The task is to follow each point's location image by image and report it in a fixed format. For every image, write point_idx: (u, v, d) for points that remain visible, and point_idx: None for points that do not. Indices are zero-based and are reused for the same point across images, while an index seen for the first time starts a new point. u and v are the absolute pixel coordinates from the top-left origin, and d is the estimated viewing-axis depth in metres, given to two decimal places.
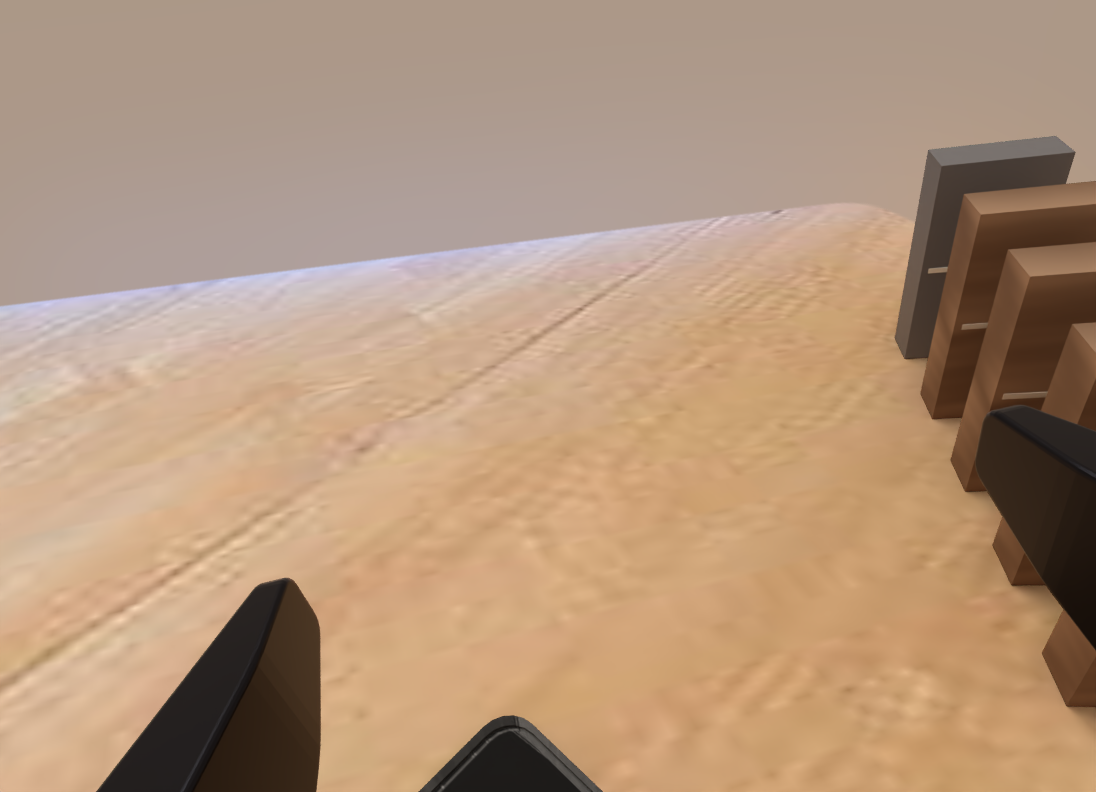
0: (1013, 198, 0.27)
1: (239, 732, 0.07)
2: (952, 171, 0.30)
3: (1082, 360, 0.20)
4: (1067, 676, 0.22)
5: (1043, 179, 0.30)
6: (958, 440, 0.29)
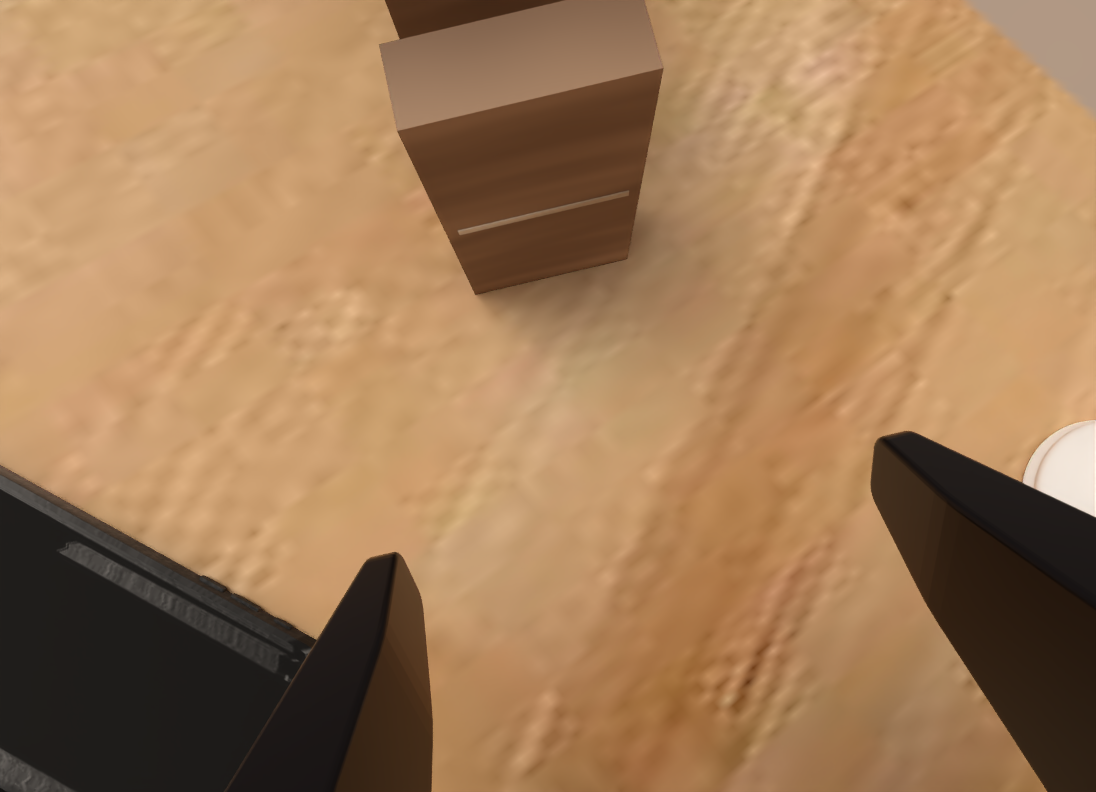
0: None
1: (375, 700, 0.07)
2: None
3: None
4: None
5: None
6: None
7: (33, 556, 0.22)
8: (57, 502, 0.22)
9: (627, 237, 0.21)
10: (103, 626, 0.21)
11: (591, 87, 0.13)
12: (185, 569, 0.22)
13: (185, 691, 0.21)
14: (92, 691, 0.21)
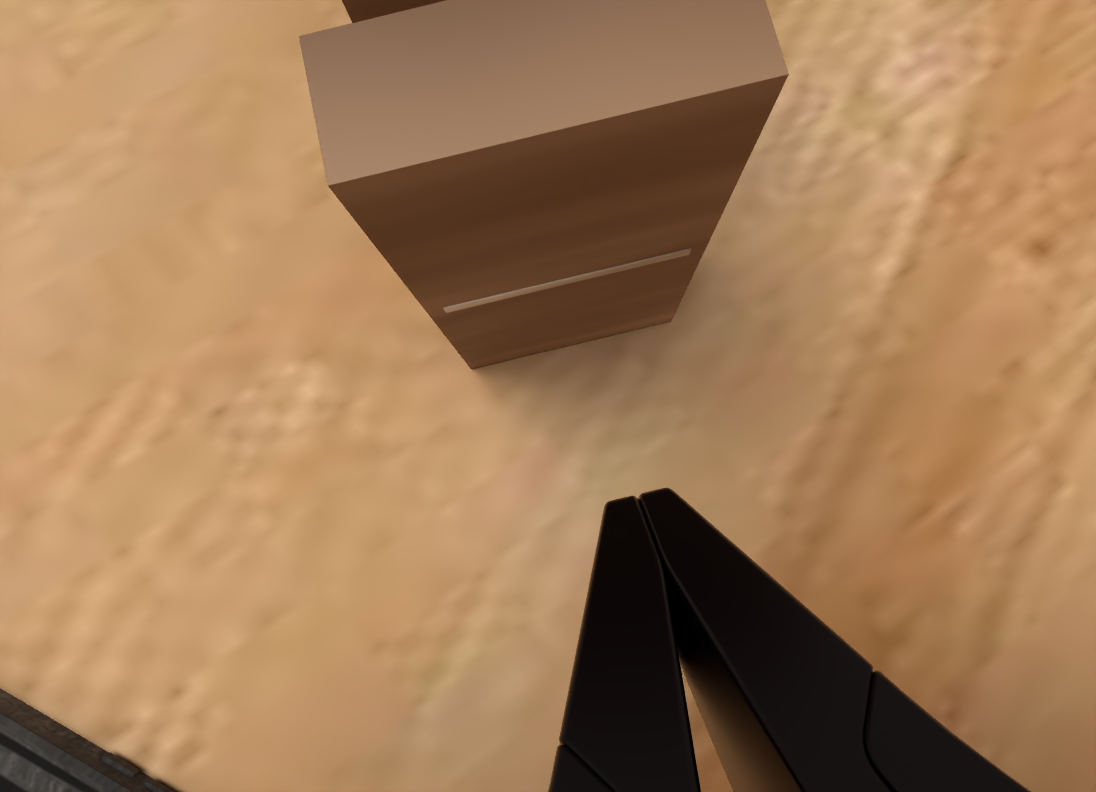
0: None
1: None
2: None
3: None
4: None
5: None
6: None
7: None
8: None
9: (676, 300, 0.16)
10: None
11: (663, 109, 0.08)
12: (85, 743, 0.16)
13: None
14: None
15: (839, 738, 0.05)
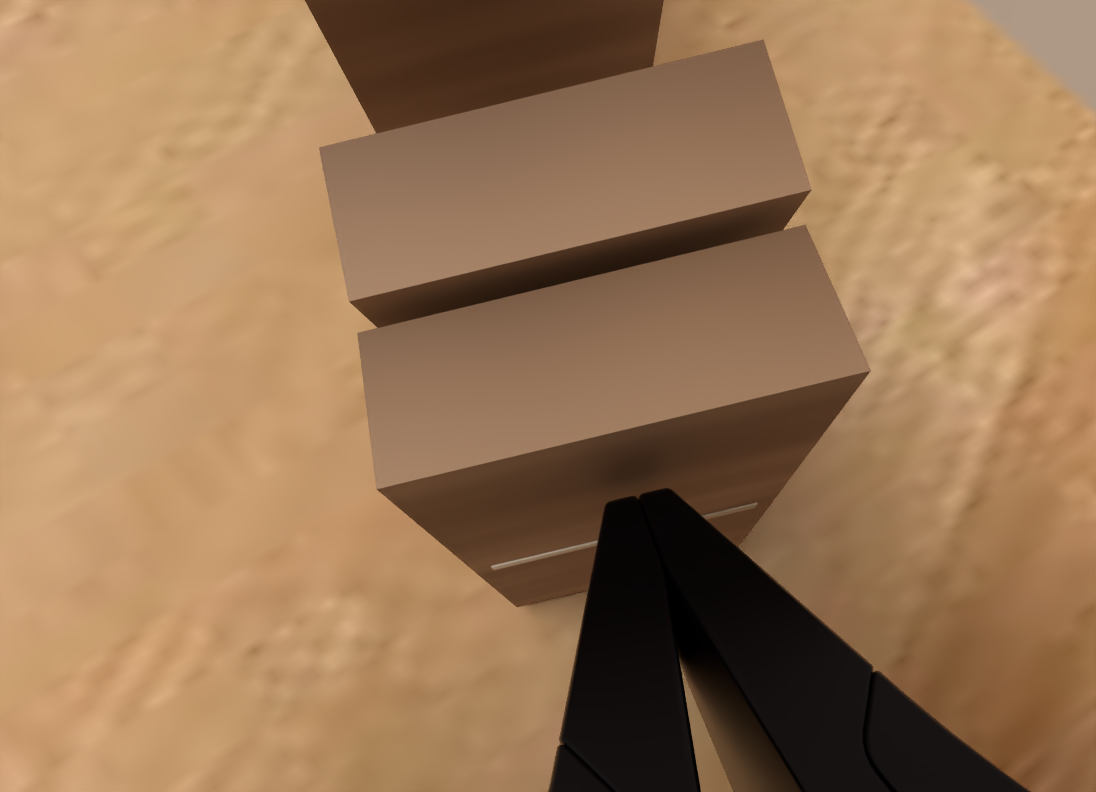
0: None
1: None
2: None
3: None
4: None
5: None
6: None
7: None
8: None
9: (738, 540, 0.14)
10: None
11: (736, 406, 0.07)
12: None
13: None
14: None
15: (839, 739, 0.05)
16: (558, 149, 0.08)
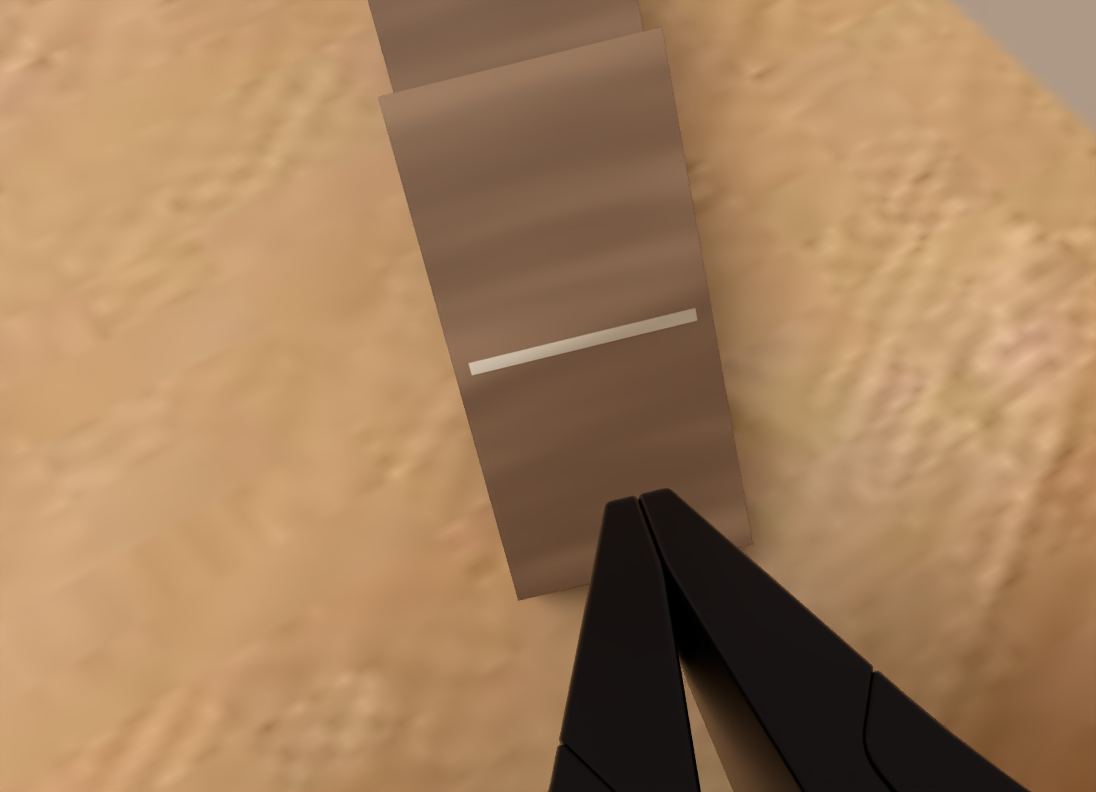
0: None
1: None
2: None
3: None
4: None
5: None
6: None
7: None
8: None
9: (732, 461, 0.14)
10: None
11: (585, 51, 0.12)
12: None
13: None
14: None
15: (839, 739, 0.05)
16: None
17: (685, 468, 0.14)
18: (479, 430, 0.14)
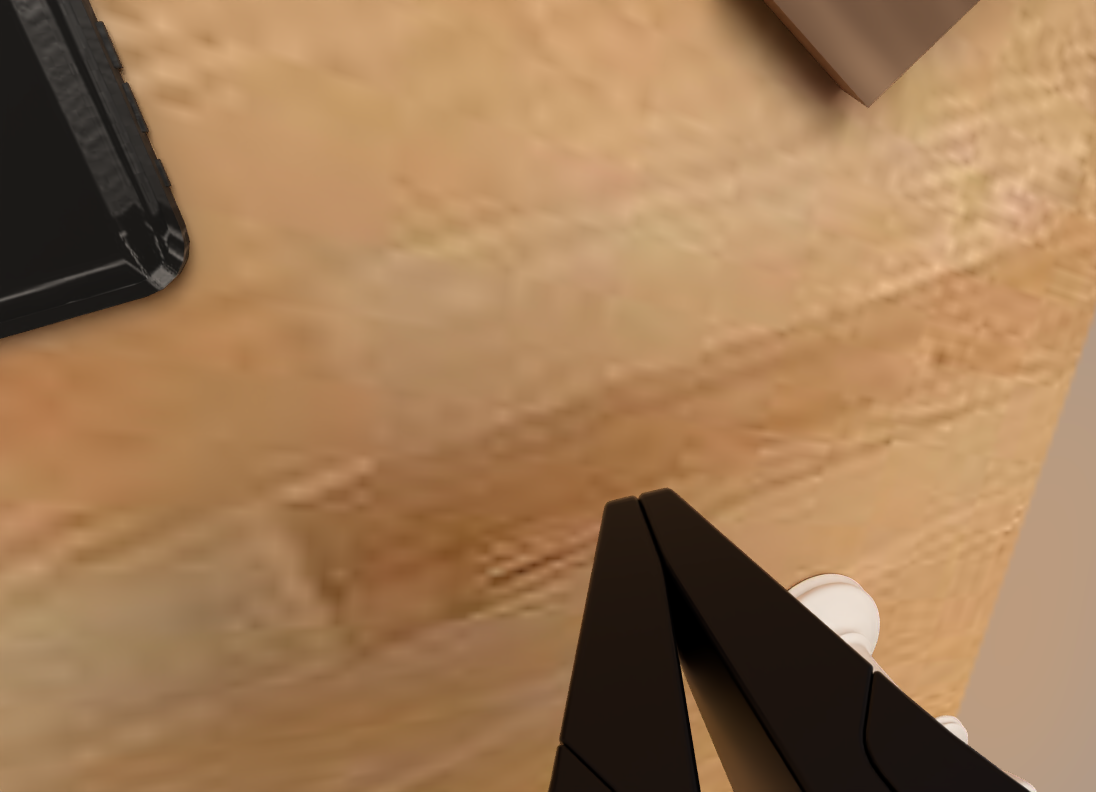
0: None
1: None
2: None
3: None
4: None
5: None
6: None
7: None
8: None
9: (930, 42, 0.18)
10: None
11: None
12: None
13: None
14: None
15: (839, 738, 0.05)
16: None
17: (912, 11, 0.17)
18: None
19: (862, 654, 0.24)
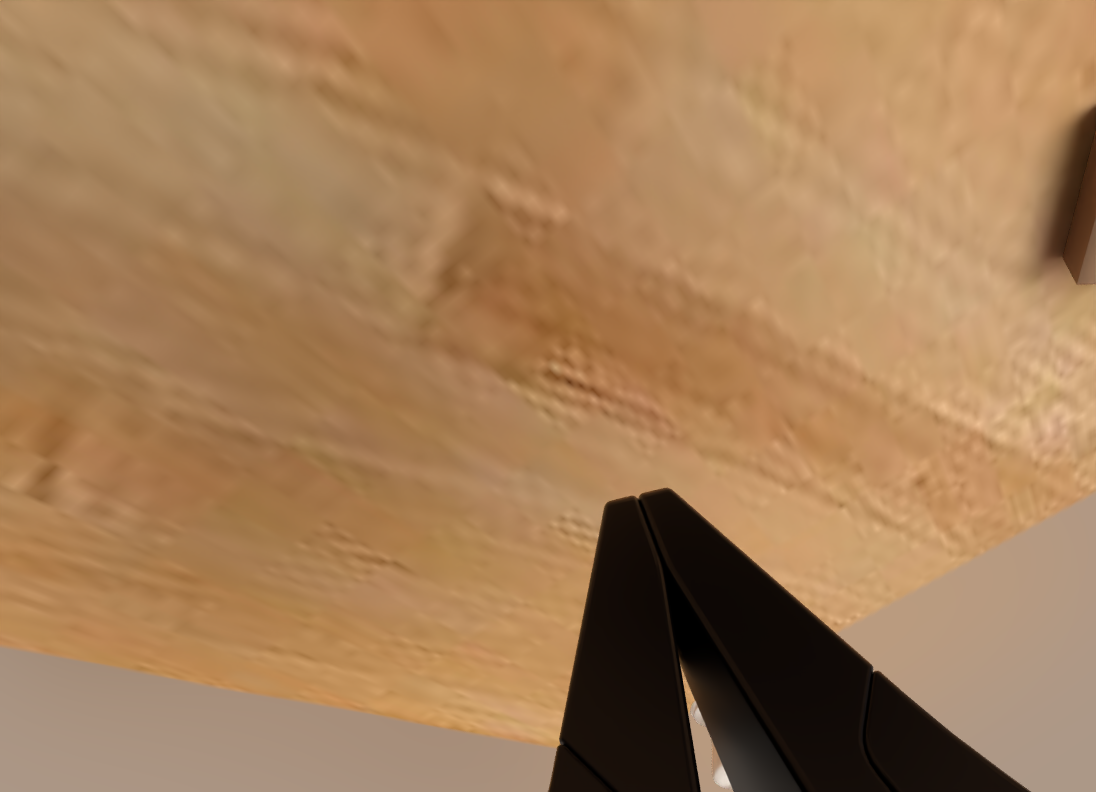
0: None
1: (673, 630, 0.07)
2: None
3: None
4: None
5: None
6: None
7: None
8: None
9: None
10: None
11: None
12: None
13: None
14: None
15: (839, 738, 0.05)
16: None
17: None
18: None
19: None
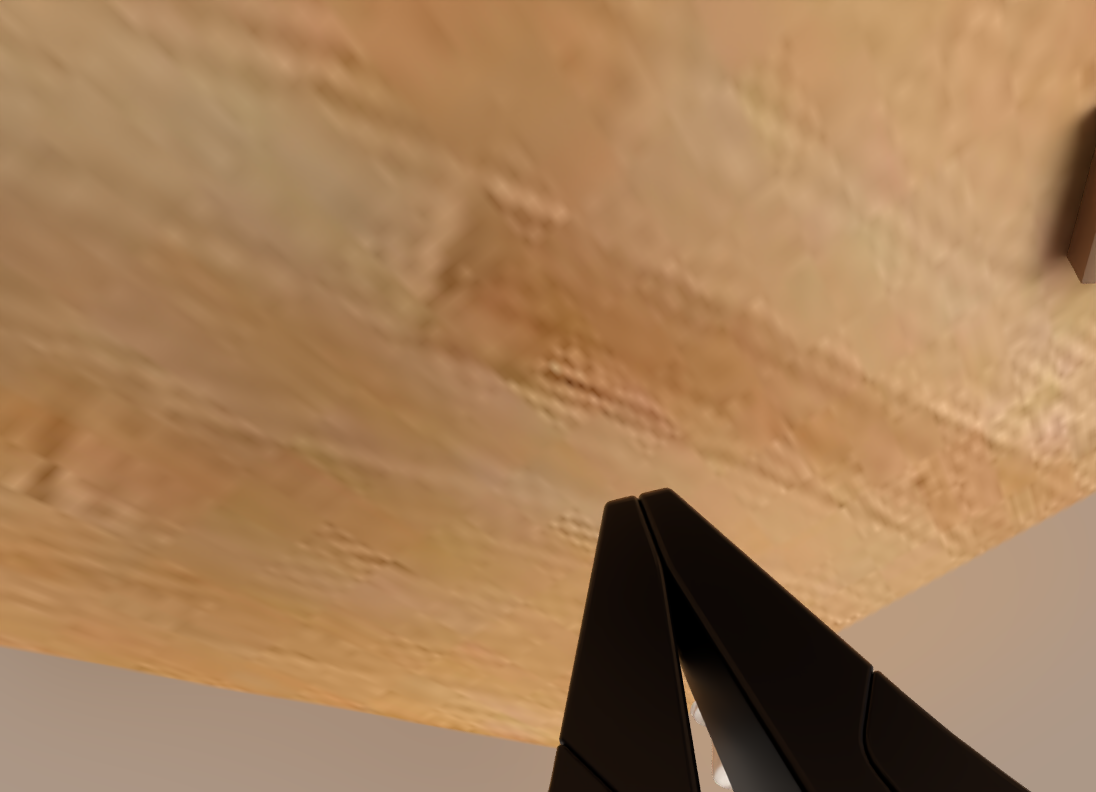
0: None
1: (673, 630, 0.07)
2: None
3: None
4: None
5: None
6: None
7: None
8: None
9: None
10: None
11: None
12: None
13: None
14: None
15: (839, 738, 0.05)
16: None
17: None
18: None
19: None
